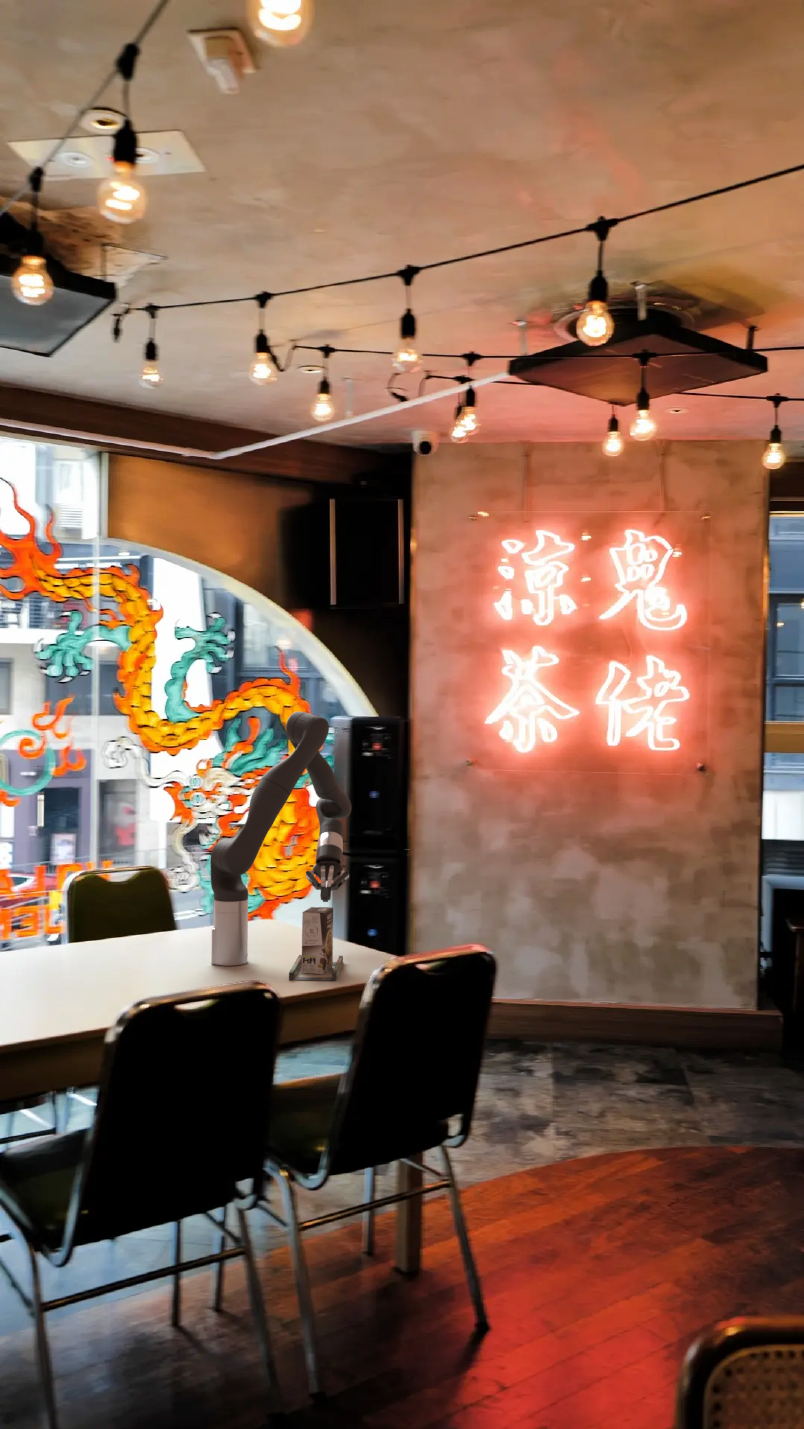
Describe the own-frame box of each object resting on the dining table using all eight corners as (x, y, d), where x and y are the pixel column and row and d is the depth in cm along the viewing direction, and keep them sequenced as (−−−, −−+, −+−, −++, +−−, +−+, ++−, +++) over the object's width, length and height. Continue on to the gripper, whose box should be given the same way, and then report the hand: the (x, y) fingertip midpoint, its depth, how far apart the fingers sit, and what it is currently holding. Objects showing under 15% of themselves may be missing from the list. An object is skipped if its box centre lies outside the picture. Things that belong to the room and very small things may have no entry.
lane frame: (288, 980, 287) (288, 972, 287) (299, 962, 308) (299, 954, 308) (335, 981, 287) (335, 973, 287) (342, 962, 308) (342, 955, 308)
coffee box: (324, 974, 294) (325, 912, 294) (300, 973, 295) (301, 911, 295) (333, 967, 303) (334, 906, 303) (310, 965, 304) (311, 905, 304)
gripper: (305, 843, 327) (300, 892, 315) (351, 843, 326) (348, 892, 314) (308, 858, 332) (303, 908, 320) (352, 859, 332) (349, 908, 320)
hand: (325, 900), depth 317 cm, fingers closed
